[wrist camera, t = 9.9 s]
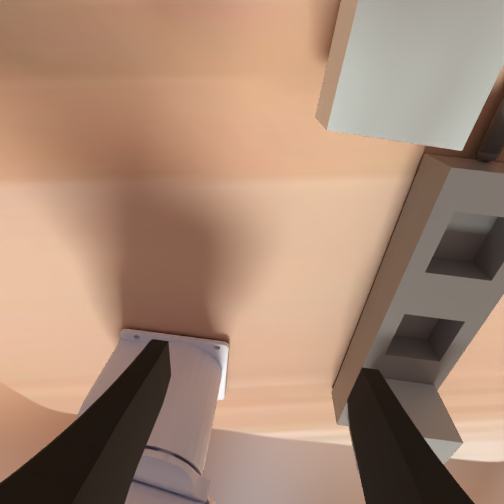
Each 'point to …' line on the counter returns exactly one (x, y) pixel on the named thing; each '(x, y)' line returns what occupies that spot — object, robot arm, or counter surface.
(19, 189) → the counter surface
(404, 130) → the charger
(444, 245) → the power strip
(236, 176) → the counter surface
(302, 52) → the counter surface
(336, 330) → the counter surface
